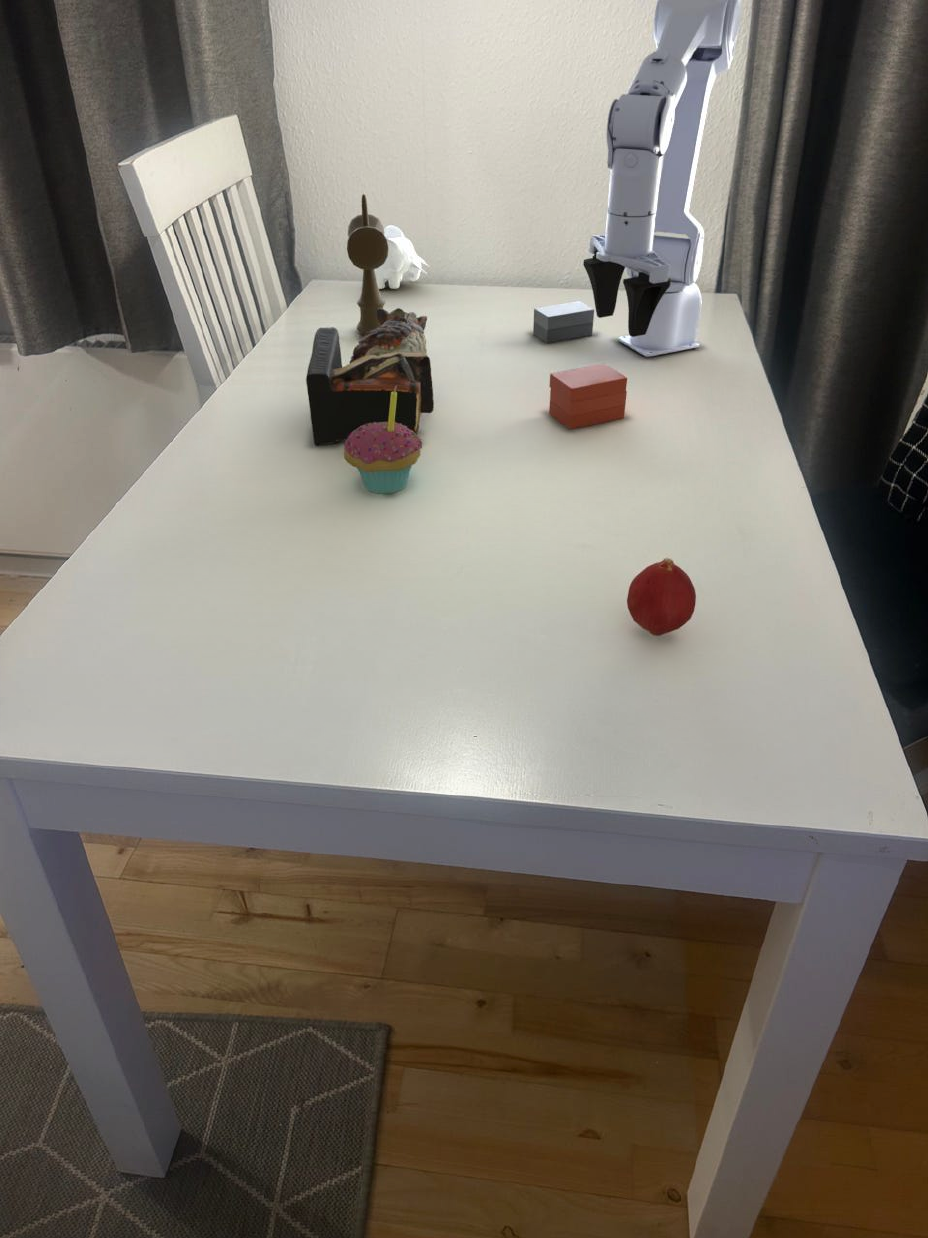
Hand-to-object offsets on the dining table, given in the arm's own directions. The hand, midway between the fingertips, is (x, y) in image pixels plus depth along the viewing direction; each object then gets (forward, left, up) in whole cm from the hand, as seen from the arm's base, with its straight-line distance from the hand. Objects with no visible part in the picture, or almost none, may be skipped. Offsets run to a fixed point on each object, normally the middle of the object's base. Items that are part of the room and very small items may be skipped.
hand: (620, 325), depth 116 cm
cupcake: (+36, +9, -10) cm, 39 cm away
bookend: (+29, -12, -10) cm, 33 cm away
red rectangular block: (+6, +3, -10) cm, 12 cm away
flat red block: (+6, +3, -6) cm, 9 cm away
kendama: (+20, -38, -10) cm, 44 cm away
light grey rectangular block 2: (-6, -24, -8) cm, 26 cm away
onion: (+24, +45, -10) cm, 52 cm away
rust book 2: (+6, +3, -8) cm, 11 cm away
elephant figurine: (+8, -59, -10) cm, 60 cm away
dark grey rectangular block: (-6, -24, -10) cm, 26 cm away
